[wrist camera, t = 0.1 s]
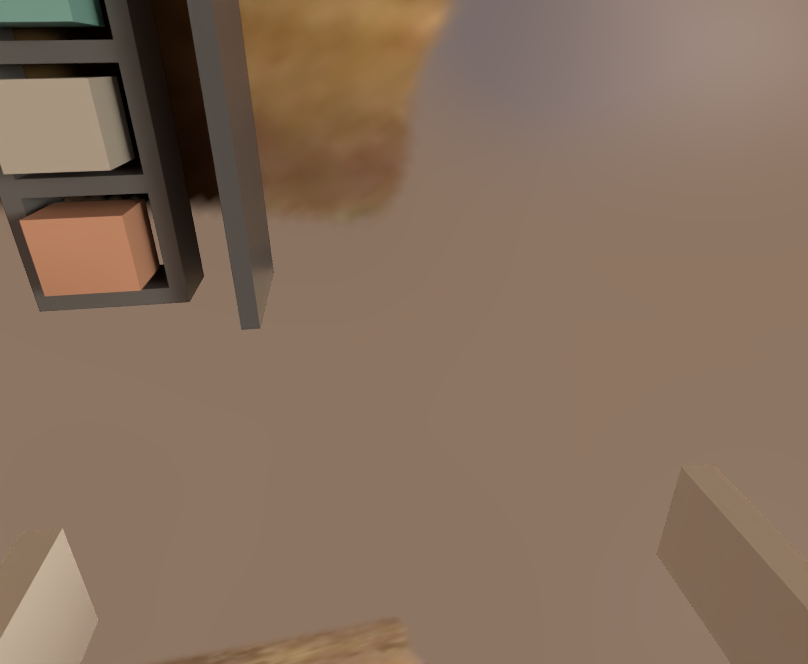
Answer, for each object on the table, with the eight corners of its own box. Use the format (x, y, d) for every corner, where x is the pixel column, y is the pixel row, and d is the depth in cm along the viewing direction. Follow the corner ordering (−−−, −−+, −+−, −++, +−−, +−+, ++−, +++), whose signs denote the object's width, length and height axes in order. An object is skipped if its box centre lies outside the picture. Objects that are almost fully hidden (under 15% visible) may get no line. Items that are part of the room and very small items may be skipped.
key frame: (-108, -292, 24) (-195, -364, 20) (96, -281, 25) (53, -348, 21) (71, 284, 36) (39, 311, 32) (203, 276, 37) (189, 301, 33)
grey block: (16, 78, 28) (-29, 80, 25) (116, 76, 29) (87, 78, 25) (41, 161, 30) (3, 174, 27) (135, 158, 31) (110, 170, 27)
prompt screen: (174, -277, 25) (106, -435, 17) (202, -276, 25) (146, -432, 17) (255, 273, 37) (236, 329, 29) (273, 272, 38) (260, 328, 30)
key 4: (54, 202, 31) (19, 220, 28) (144, 198, 32) (122, 215, 28) (74, 271, 33) (45, 296, 29) (160, 266, 34) (140, 290, 30)
